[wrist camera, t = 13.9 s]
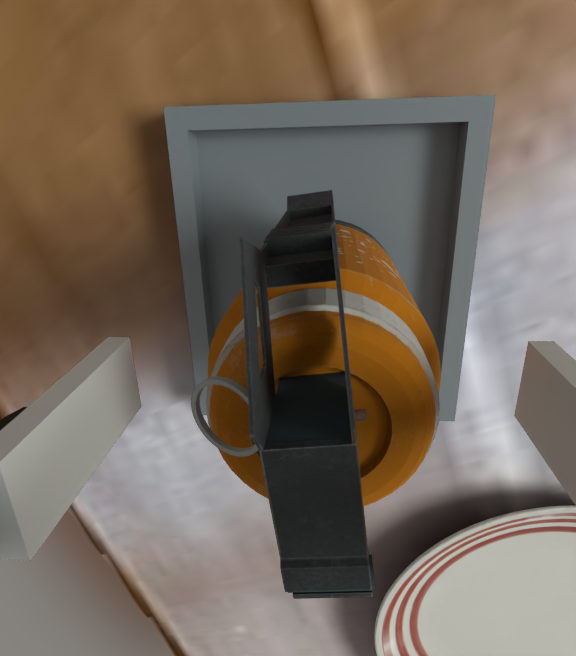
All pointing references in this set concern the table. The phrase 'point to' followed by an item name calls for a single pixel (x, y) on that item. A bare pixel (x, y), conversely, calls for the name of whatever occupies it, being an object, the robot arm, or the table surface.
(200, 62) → the table surface
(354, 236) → the canister
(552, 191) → the table surface
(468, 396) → the table surface
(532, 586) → the dinner plate
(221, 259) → the tray
